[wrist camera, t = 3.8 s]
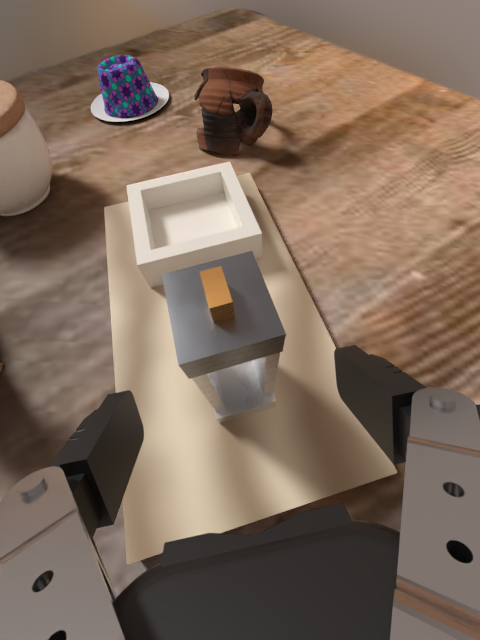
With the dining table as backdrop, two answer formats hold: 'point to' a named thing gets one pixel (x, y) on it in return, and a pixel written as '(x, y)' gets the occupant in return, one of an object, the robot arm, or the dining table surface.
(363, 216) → the dining table surface
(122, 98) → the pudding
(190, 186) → the box
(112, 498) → the robot arm
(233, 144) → the pottery mug
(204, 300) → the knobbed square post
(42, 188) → the lidded bowl
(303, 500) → the board
